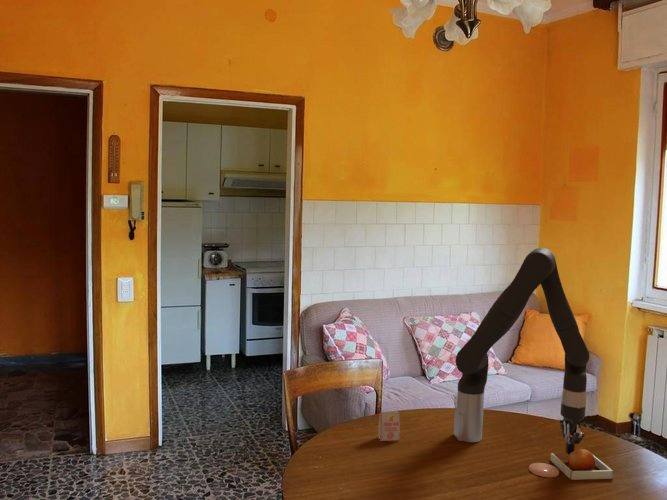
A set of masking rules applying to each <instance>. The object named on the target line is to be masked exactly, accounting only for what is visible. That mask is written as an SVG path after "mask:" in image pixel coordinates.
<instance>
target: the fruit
mask: <svg viewBox="0 0 667 500" xmlns="http://www.w3.org/2000/svg"><path fill="white" fill-rule="evenodd" d="M592 454H593V453H591V451H590V450H587V449H584V448H581V449H574V451H573V452H572V453H570V454H568V456H567V462H568V465H569V467H570V469H571V470H572V471H594V469H595V467H596V466H595V459H594V456H595V455H594V454H593V455H594V456H593V455H592Z"/></svg>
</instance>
